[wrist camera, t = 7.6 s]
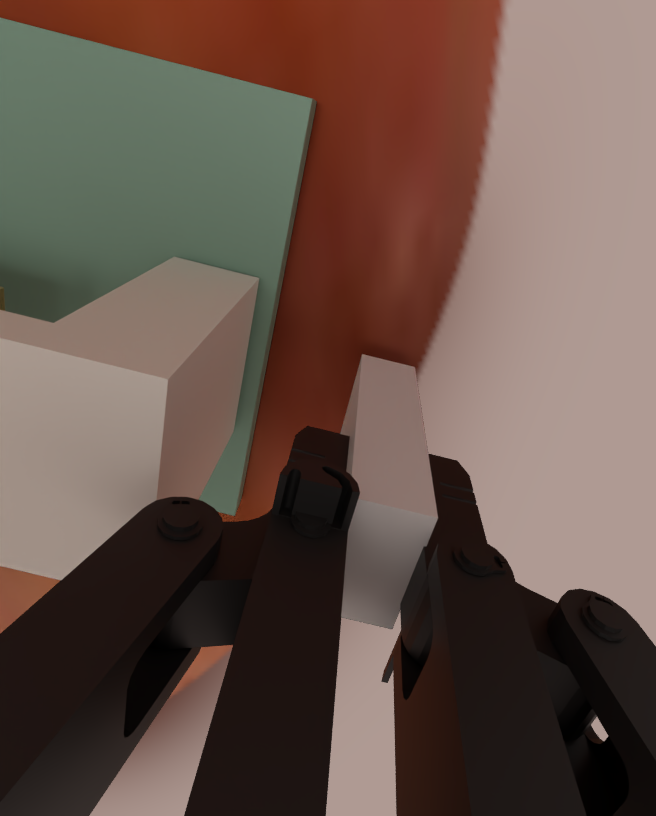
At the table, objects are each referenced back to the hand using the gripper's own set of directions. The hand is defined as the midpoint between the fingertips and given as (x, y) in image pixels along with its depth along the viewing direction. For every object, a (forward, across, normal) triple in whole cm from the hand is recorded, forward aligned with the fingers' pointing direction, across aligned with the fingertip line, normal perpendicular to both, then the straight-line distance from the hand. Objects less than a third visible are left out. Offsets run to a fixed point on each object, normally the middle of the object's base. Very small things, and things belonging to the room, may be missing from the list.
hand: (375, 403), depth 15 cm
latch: (+1, -6, 0) cm, 6 cm away
